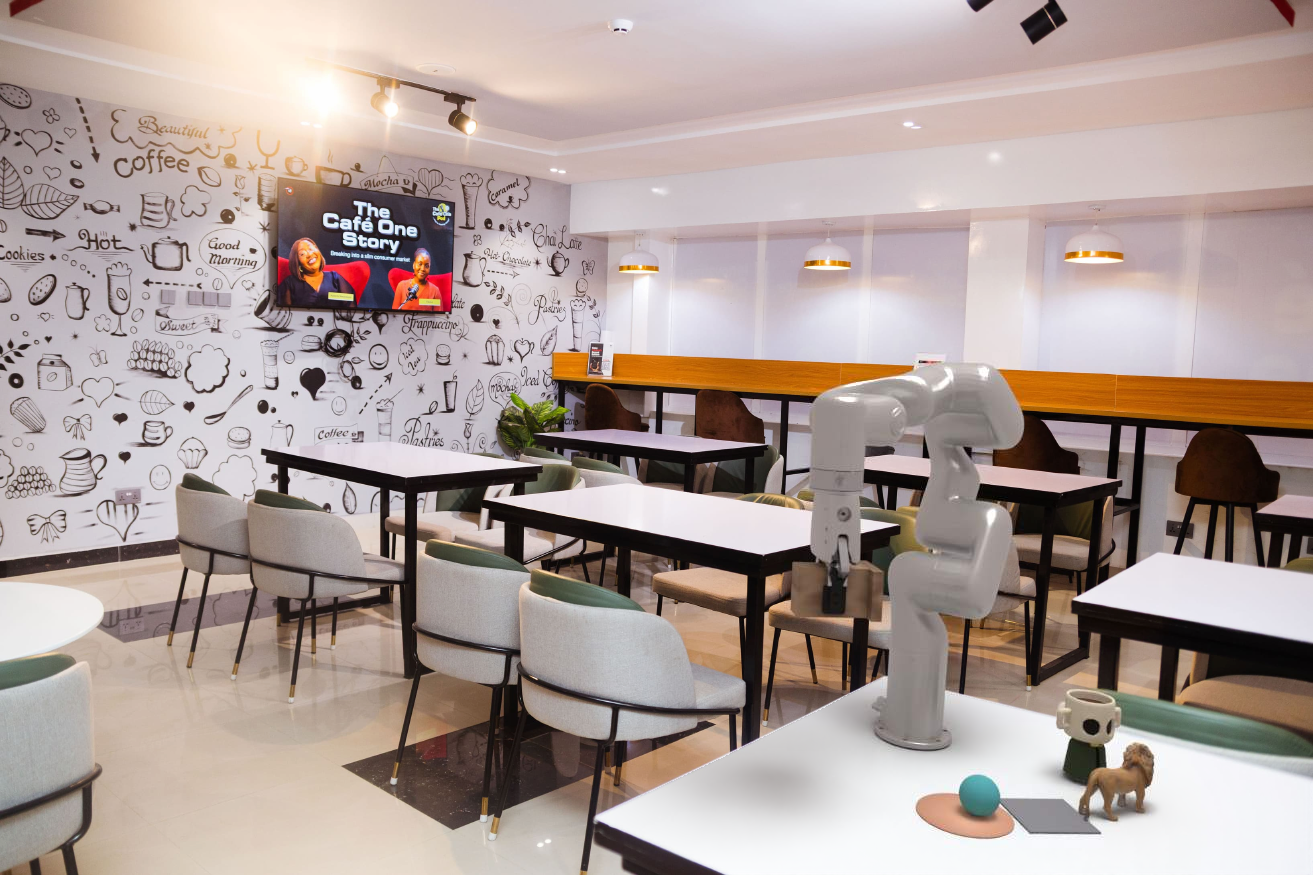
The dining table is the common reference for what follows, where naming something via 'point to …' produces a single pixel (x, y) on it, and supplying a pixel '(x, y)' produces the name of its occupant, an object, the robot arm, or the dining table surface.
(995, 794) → the ball
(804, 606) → the t-shaped block
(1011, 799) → the far square
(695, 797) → the dining table surface
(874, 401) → the robot arm
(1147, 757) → the lion figurine
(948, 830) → the disc
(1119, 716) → the character mug
